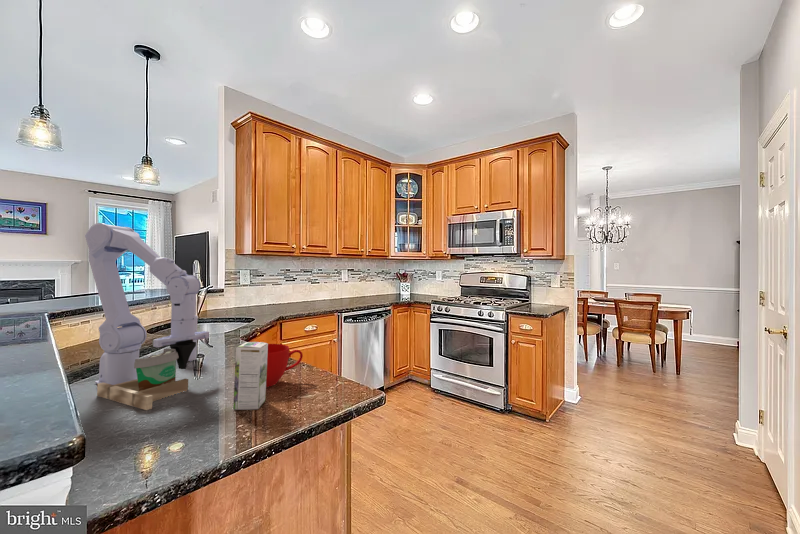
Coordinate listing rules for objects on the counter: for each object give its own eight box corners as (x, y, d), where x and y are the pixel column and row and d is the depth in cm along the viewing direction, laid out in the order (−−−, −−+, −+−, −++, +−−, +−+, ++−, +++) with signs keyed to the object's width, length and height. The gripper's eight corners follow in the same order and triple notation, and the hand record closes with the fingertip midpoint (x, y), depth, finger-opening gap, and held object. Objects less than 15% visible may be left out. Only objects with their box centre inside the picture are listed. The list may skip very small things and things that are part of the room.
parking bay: (97, 395, 88) (97, 383, 88) (150, 381, 99) (151, 371, 99) (146, 410, 80) (147, 396, 80) (199, 393, 91) (199, 381, 91)
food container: (162, 399, 85) (159, 357, 85) (136, 401, 85) (133, 359, 85) (190, 383, 97) (187, 346, 97) (167, 384, 97) (164, 348, 97)
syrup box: (241, 401, 86) (243, 341, 87) (266, 401, 87) (268, 341, 87) (232, 410, 81) (234, 346, 81) (259, 410, 81) (261, 346, 81)
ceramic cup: (306, 386, 99) (307, 350, 99) (239, 394, 91) (240, 355, 91) (298, 373, 110) (298, 341, 110) (238, 380, 103) (239, 345, 103)
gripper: (166, 323, 89) (164, 377, 89) (216, 317, 102) (215, 364, 102) (148, 321, 92) (147, 373, 92) (200, 315, 105) (199, 361, 105)
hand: (182, 368), depth 97 cm, fingers closed
